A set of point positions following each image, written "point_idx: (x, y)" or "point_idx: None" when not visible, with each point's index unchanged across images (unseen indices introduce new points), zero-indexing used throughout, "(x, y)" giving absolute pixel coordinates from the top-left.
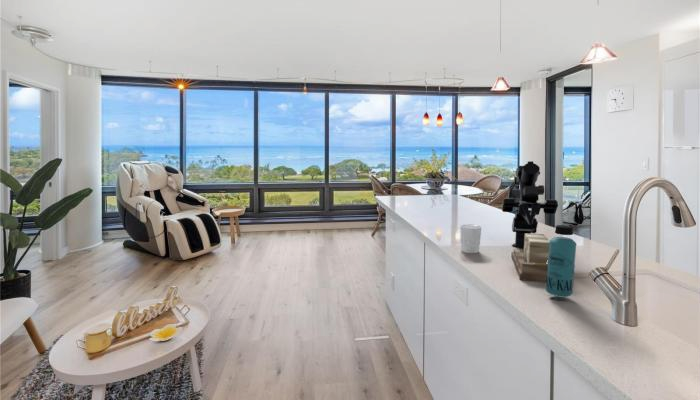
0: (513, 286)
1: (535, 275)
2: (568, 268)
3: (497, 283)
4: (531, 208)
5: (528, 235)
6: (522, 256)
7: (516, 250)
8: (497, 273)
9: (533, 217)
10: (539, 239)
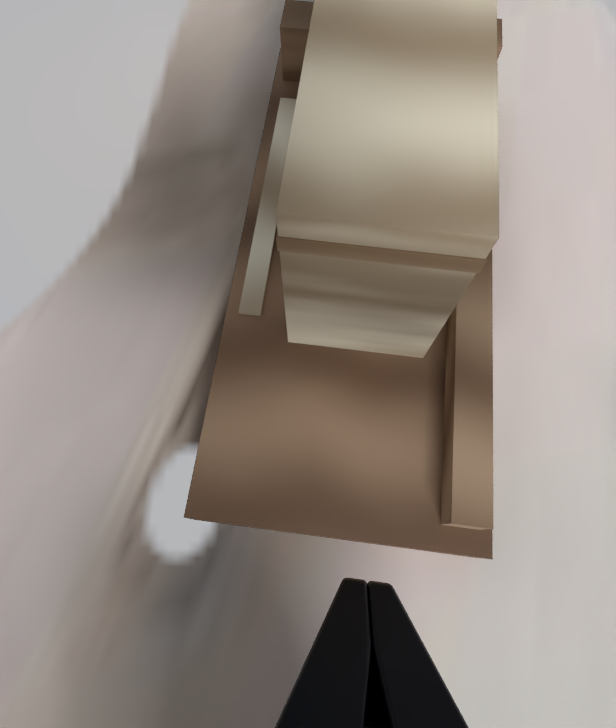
0: (518, 26)
1: None
2: None
3: (587, 46)
4: None
5: (472, 132)
6: (419, 407)
7: (473, 455)
8: (588, 167)
9: (294, 699)
10: (396, 3)
